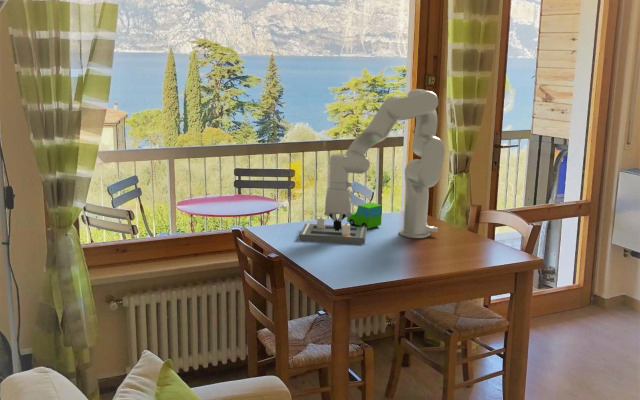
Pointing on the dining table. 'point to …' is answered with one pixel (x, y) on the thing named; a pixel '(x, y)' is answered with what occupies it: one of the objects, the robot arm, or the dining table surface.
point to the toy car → (366, 215)
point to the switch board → (333, 234)
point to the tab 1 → (321, 222)
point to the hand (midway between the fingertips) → (337, 229)
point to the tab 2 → (346, 229)
